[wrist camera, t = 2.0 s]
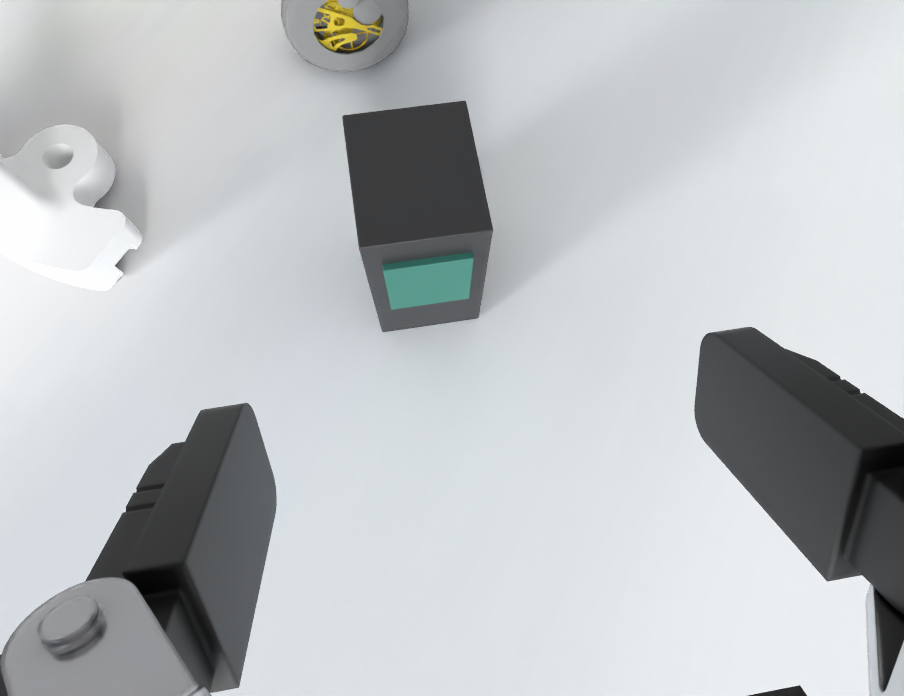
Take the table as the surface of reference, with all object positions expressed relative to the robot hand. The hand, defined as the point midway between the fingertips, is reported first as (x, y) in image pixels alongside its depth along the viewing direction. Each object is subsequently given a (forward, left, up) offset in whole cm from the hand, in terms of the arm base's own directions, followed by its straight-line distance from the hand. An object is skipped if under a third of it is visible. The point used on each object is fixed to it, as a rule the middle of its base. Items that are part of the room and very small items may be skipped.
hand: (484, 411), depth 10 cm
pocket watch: (-21, +17, -18) cm, 33 cm away
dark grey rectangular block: (-8, +8, -18) cm, 21 cm away
